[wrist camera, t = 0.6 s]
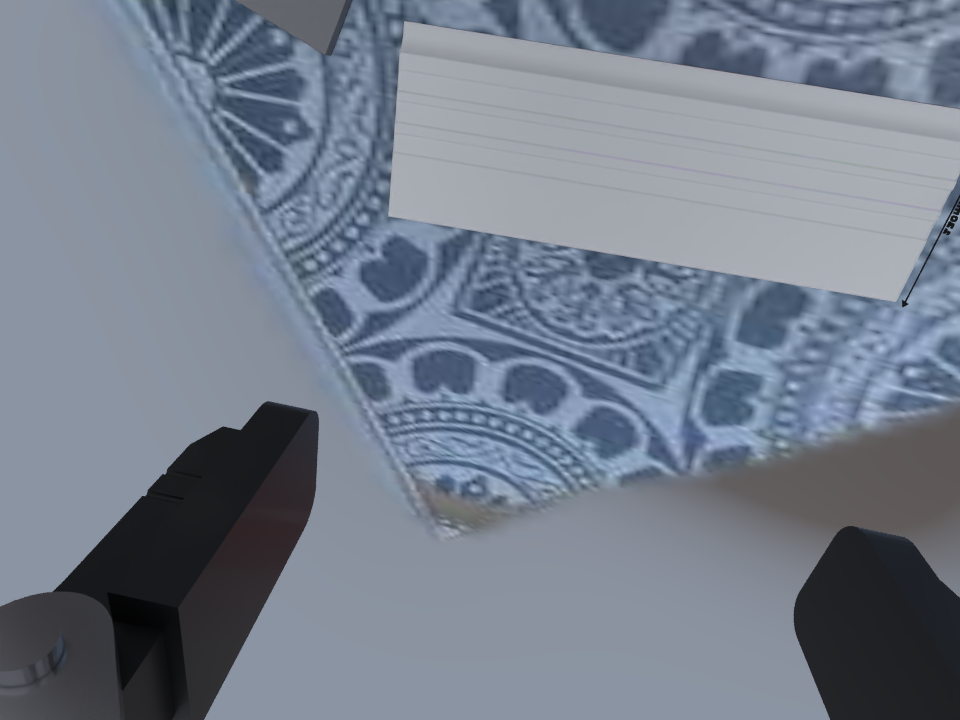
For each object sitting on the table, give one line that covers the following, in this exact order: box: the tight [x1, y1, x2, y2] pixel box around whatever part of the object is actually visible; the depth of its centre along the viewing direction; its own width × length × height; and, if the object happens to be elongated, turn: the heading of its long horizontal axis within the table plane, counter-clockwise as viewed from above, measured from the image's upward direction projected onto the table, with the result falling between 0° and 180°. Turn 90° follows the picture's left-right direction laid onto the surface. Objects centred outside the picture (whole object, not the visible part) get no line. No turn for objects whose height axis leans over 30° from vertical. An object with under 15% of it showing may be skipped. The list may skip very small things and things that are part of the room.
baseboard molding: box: [389, 21, 960, 307], centre depth 33 cm, size 31×3×12 cm
